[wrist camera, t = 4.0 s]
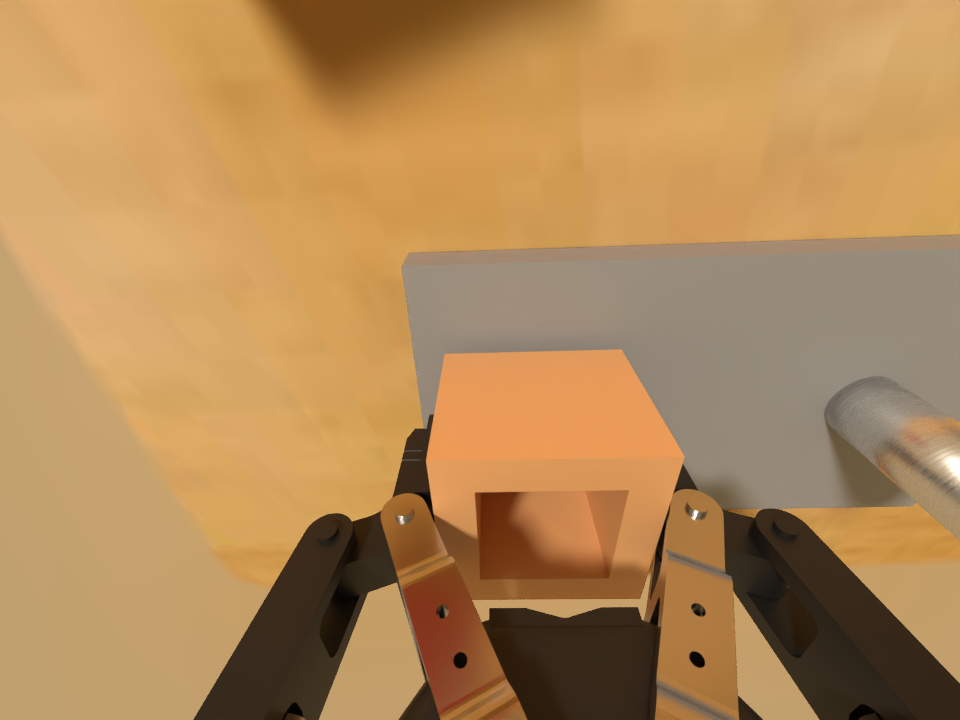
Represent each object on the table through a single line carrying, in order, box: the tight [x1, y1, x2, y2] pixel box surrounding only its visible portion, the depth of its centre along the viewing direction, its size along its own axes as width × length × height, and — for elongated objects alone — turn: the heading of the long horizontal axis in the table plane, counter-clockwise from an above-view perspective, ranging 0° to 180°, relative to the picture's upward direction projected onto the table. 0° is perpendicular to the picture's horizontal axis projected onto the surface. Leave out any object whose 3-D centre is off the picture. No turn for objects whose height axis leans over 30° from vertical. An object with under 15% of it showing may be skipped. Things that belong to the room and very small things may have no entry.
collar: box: [426, 349, 685, 600], centre depth 13 cm, size 6×6×5 cm
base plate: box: [402, 235, 960, 510], centre depth 16 cm, size 12×22×2 cm, turn 92°
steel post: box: [824, 376, 960, 540], centre depth 14 cm, size 3×3×7 cm
